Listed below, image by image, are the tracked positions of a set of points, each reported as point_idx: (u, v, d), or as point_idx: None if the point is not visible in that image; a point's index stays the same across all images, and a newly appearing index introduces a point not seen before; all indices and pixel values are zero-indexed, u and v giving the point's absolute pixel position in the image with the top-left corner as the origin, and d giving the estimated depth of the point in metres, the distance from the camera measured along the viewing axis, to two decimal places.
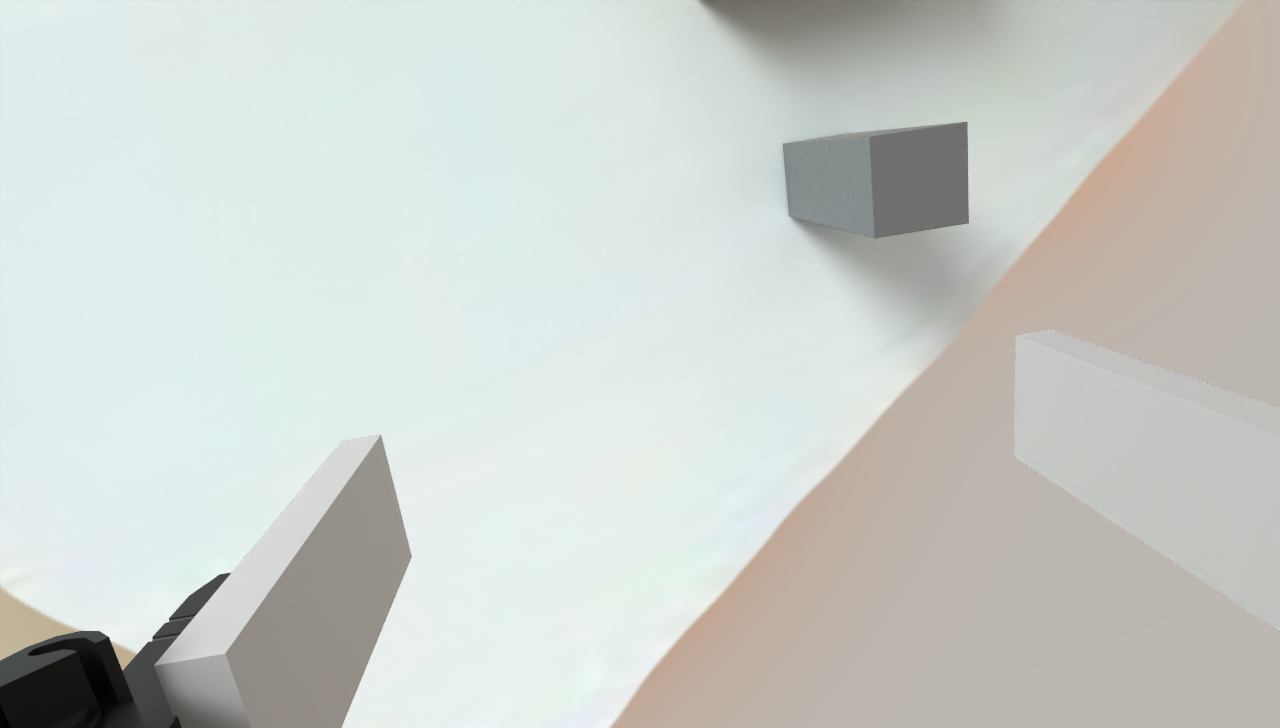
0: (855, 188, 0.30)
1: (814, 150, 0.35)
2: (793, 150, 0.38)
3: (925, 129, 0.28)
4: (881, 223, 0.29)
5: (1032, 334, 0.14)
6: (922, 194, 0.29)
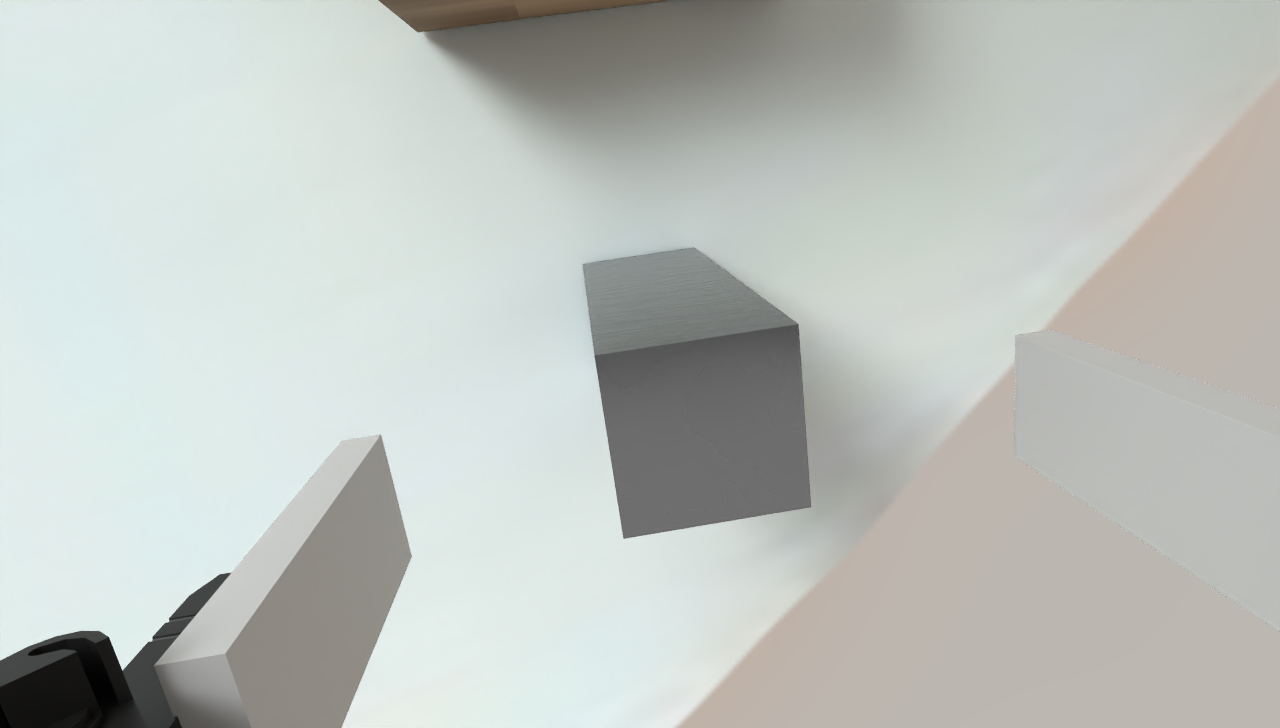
0: None
1: None
2: None
3: (712, 340, 0.14)
4: (636, 512, 0.15)
5: (1032, 334, 0.14)
6: (714, 458, 0.15)
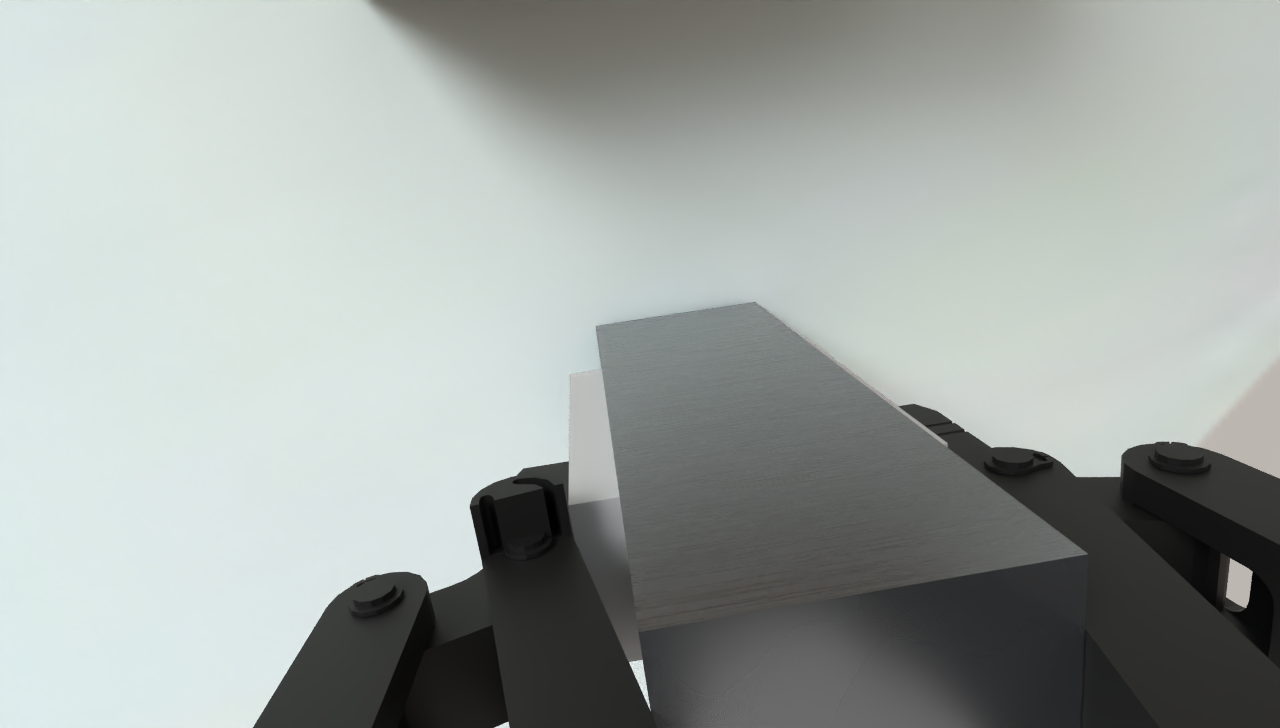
0: None
1: None
2: None
3: (900, 591, 0.06)
4: None
5: None
6: None
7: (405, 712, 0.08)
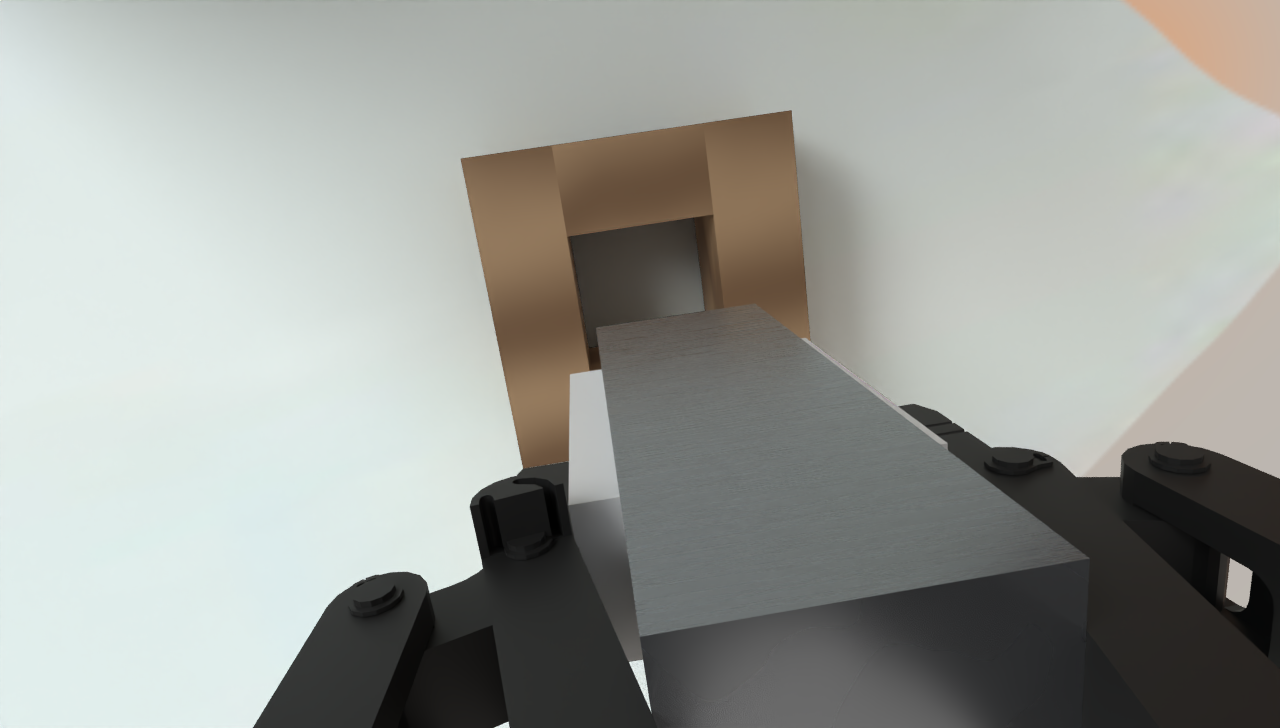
0: None
1: None
2: None
3: (902, 596, 0.06)
4: None
5: None
6: None
7: (405, 713, 0.08)
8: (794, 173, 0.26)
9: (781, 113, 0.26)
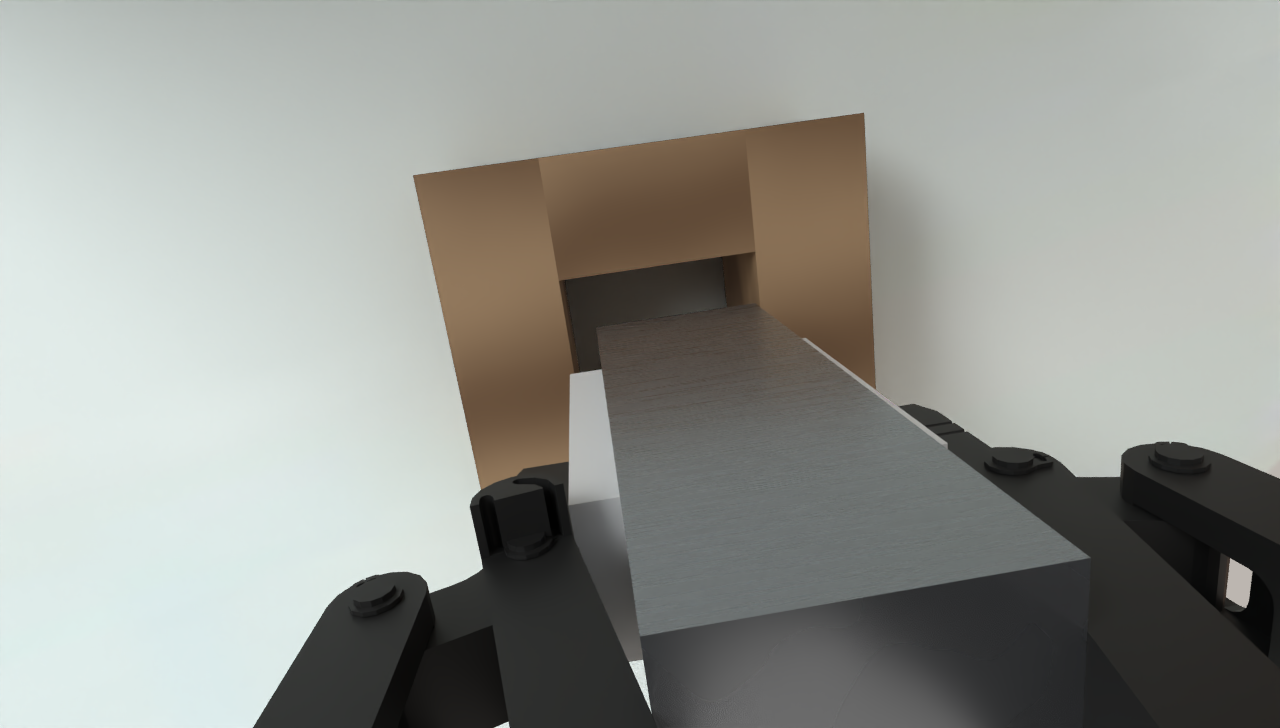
0: None
1: None
2: None
3: (902, 596, 0.06)
4: None
5: None
6: None
7: (405, 712, 0.08)
8: (864, 197, 0.20)
9: (850, 117, 0.19)
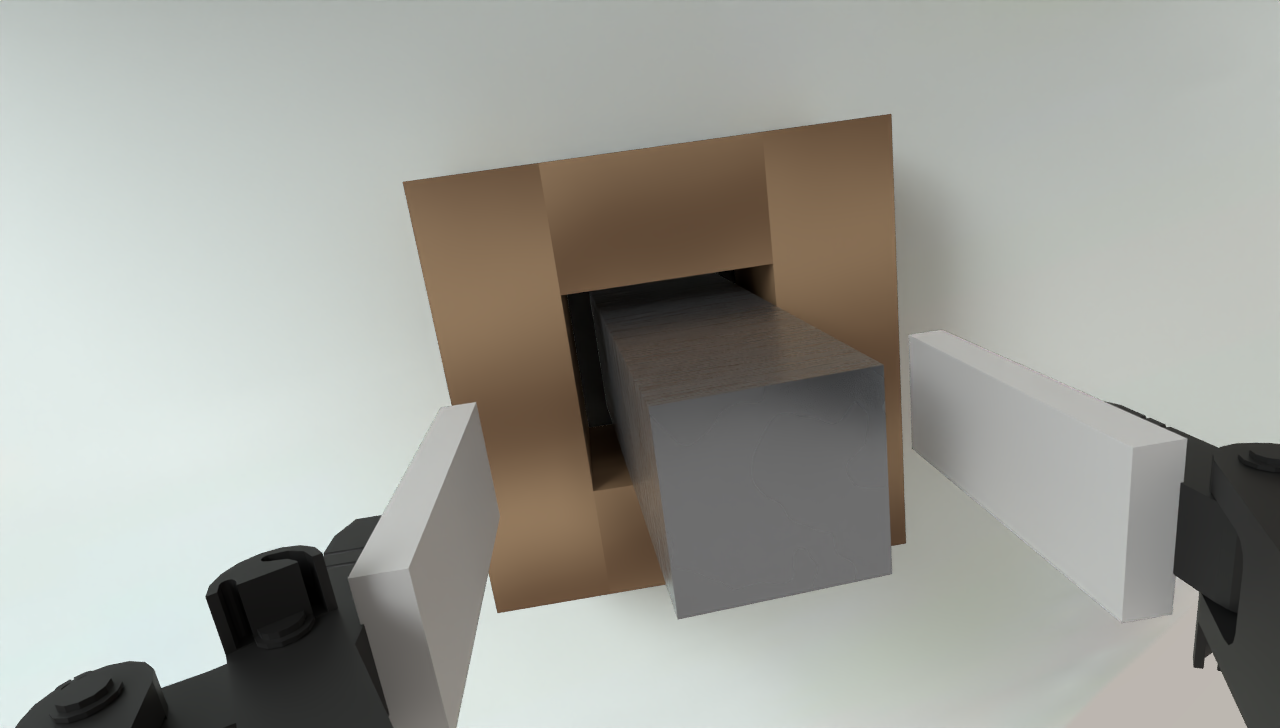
0: (647, 480, 0.14)
1: (607, 338, 0.18)
2: (595, 311, 0.21)
3: (786, 385, 0.12)
4: (692, 588, 0.12)
5: (924, 334, 0.15)
6: (784, 522, 0.12)
7: None
8: (891, 205, 0.18)
9: (876, 118, 0.18)
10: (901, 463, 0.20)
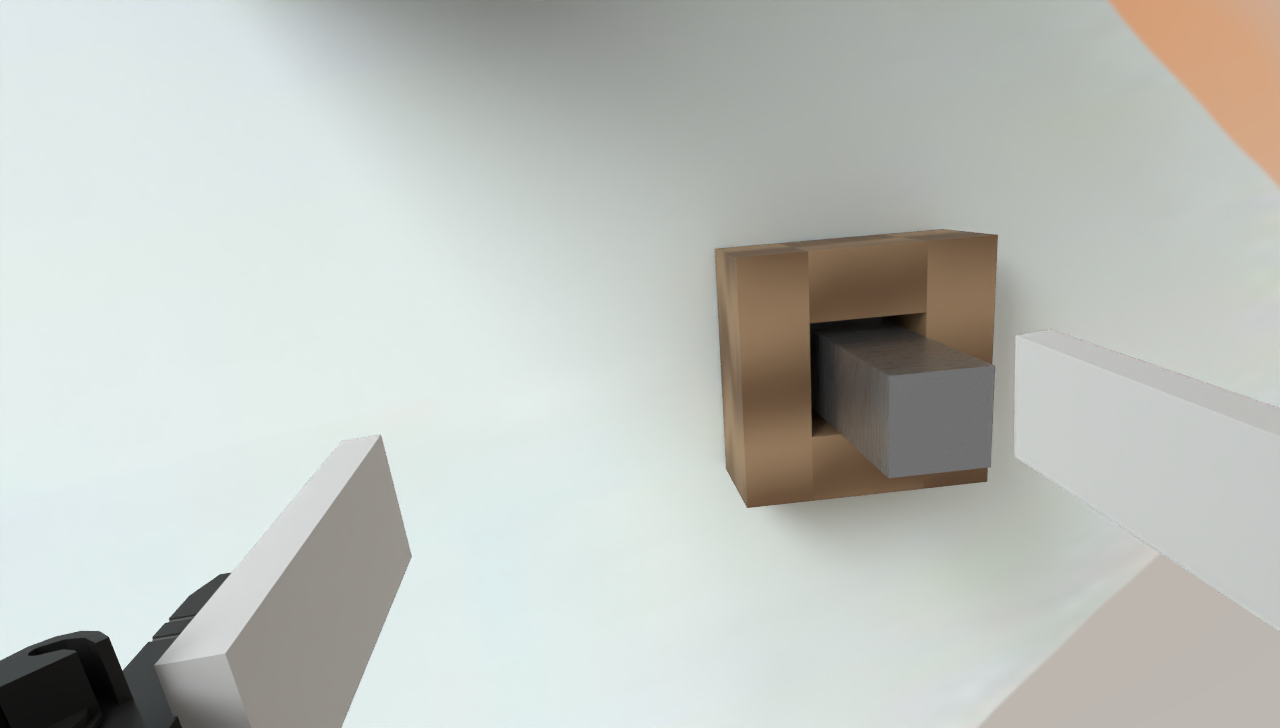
0: (870, 416, 0.28)
1: (826, 348, 0.33)
2: None
3: (950, 371, 0.26)
4: (897, 463, 0.27)
5: (1032, 334, 0.14)
6: (942, 436, 0.27)
7: None
8: (993, 283, 0.33)
9: (989, 236, 0.32)
10: None
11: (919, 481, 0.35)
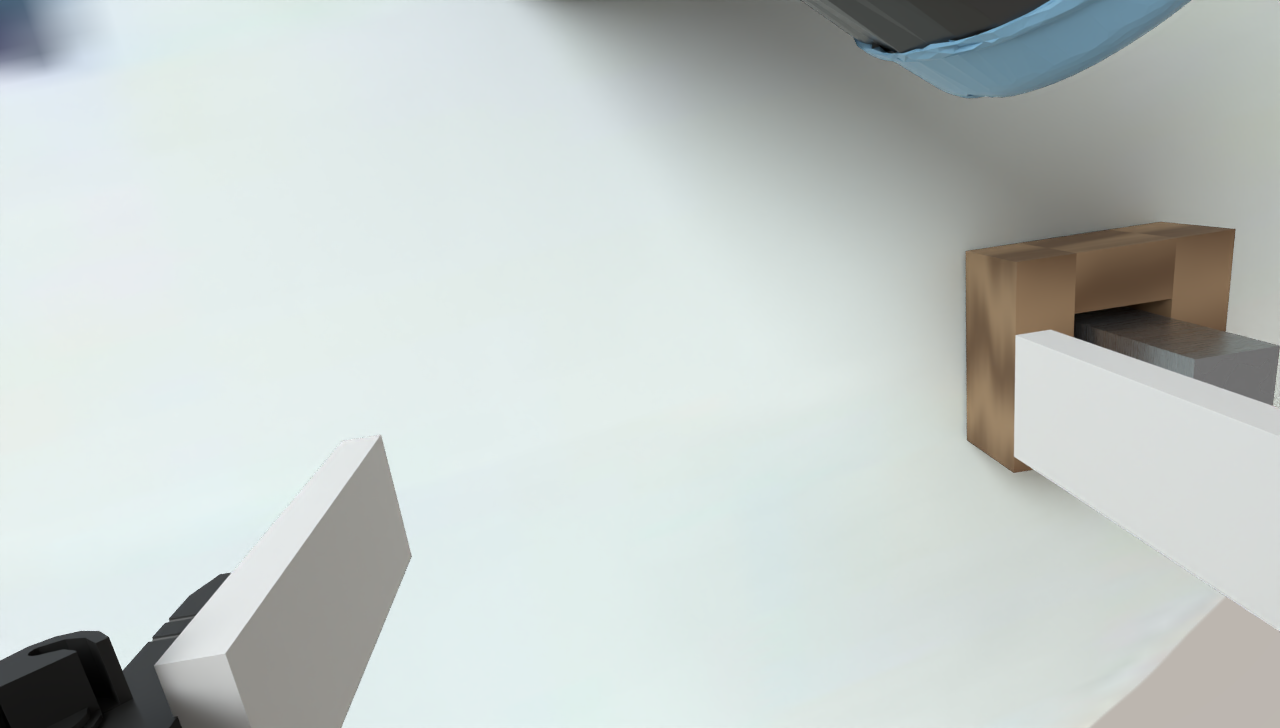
0: None
1: (1088, 334, 0.38)
2: None
3: (1243, 352, 0.32)
4: None
5: (1032, 334, 0.14)
6: None
7: None
8: (1229, 270, 0.38)
9: (1228, 231, 0.38)
10: None
11: None
